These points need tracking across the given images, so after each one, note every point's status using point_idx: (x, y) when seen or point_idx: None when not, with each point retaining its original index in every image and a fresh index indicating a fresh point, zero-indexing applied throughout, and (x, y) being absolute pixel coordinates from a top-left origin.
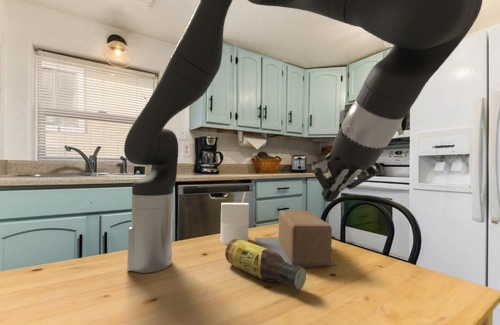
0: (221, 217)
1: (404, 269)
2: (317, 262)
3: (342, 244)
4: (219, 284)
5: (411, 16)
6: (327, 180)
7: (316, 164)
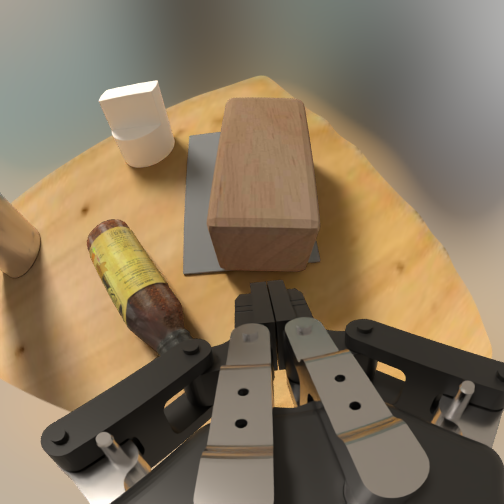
0: (108, 122)
1: (433, 281)
2: (273, 270)
3: (364, 166)
4: (84, 325)
5: None
6: (216, 386)
7: (68, 474)
